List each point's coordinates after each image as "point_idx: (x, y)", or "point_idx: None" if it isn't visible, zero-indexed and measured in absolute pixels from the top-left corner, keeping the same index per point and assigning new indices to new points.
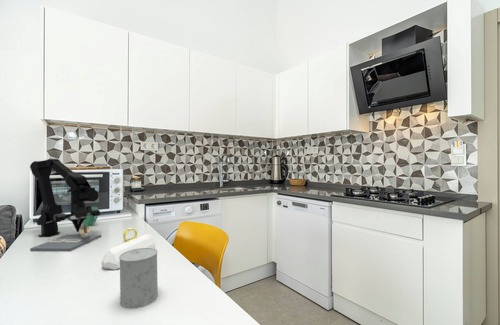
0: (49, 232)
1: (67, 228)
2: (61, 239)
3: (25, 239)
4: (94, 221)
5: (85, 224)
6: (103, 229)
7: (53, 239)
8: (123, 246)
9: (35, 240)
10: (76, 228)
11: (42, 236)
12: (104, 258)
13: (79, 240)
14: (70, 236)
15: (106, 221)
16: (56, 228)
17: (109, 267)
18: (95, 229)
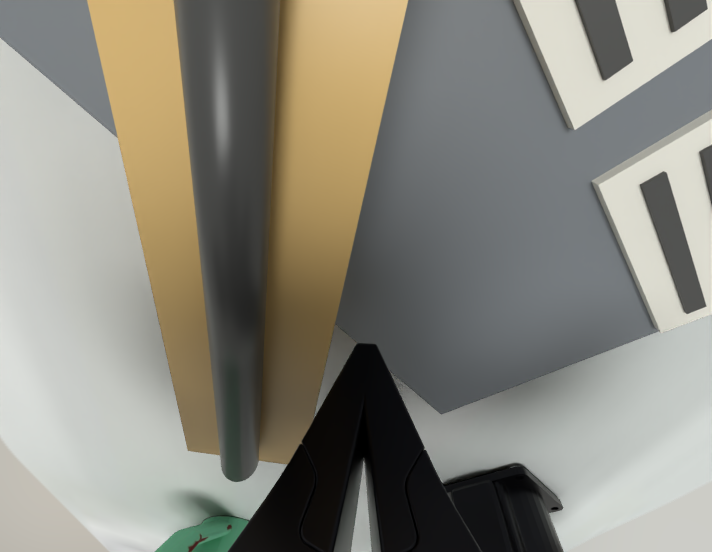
0: (524, 513)
1: (354, 532)
2: (638, 238)
3: (635, 500)
4: (172, 540)
5: None
6: (101, 394)
7: (675, 321)
8: None
9: (632, 453)
10: (396, 396)
11: (549, 491)
12: None
13: None
14: (452, 325)
15: (123, 524)
16: (478, 543)
17: None
18: (180, 432)
